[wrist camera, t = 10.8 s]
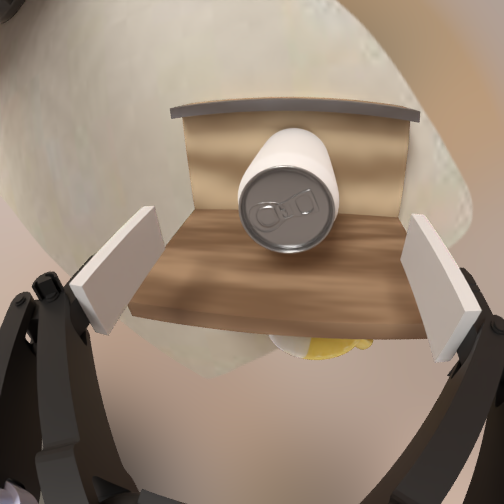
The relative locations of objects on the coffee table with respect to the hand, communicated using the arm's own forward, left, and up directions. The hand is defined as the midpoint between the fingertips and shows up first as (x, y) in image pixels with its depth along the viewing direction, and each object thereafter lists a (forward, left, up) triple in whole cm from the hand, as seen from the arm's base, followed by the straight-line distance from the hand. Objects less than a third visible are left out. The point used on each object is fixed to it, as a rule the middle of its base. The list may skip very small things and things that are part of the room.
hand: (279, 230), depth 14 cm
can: (0, 0, -15) cm, 15 cm away
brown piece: (+1, 0, -18) cm, 18 cm away
